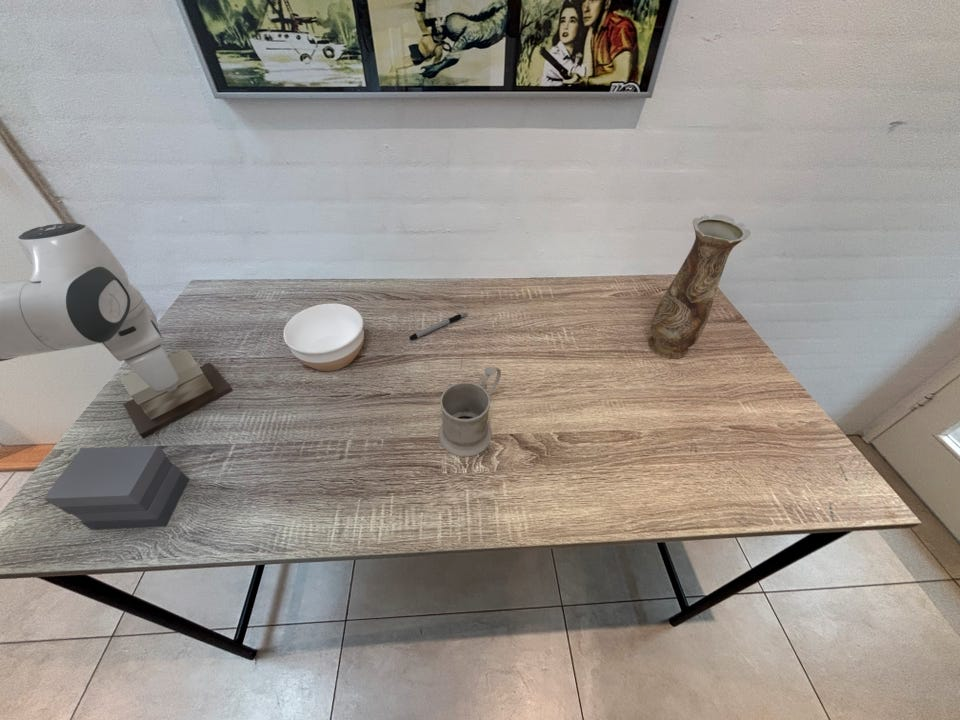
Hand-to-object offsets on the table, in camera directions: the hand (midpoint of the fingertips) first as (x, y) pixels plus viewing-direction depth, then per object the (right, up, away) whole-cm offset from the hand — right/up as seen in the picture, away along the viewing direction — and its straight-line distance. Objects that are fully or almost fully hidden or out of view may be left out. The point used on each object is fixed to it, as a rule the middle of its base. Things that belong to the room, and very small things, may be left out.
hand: (164, 377), depth 76 cm
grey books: (+5, -20, -11) cm, 23 cm away
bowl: (+26, +5, +15) cm, 30 cm away
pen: (+49, +11, +22) cm, 55 cm away
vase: (+102, +6, +19) cm, 104 cm away
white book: (0, 0, 0) cm, 1 cm away
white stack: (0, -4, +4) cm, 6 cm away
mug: (+58, -9, +2) cm, 58 cm away
